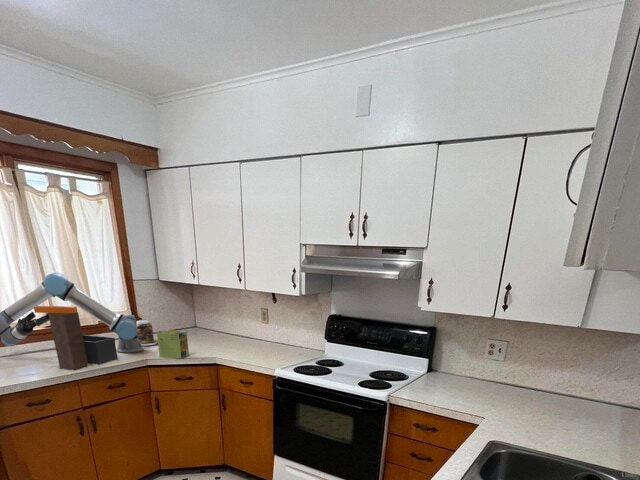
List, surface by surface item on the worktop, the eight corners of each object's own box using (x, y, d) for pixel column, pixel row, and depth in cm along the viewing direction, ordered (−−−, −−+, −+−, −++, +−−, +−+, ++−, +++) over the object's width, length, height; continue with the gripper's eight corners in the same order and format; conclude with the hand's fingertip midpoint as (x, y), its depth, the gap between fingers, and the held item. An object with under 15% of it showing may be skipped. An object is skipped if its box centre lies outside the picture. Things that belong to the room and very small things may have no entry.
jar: (140, 340, 317) (137, 319, 311) (156, 340, 317) (153, 320, 311) (134, 343, 306) (131, 322, 300) (150, 343, 306) (147, 322, 300)
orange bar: (34, 312, 227) (33, 306, 226) (39, 311, 231) (38, 305, 230) (73, 313, 229) (72, 307, 228) (77, 312, 233) (76, 306, 232)
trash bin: (65, 361, 254) (61, 339, 248) (85, 355, 267) (81, 334, 262) (99, 364, 248) (95, 342, 243) (117, 358, 262) (114, 337, 257)
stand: (60, 368, 238) (47, 313, 226) (74, 364, 247) (63, 311, 235) (74, 370, 236) (63, 314, 224) (88, 365, 245) (78, 312, 233)
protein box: (181, 358, 267) (178, 333, 261) (159, 356, 270) (156, 332, 264) (189, 355, 277) (187, 331, 271) (167, 353, 280) (165, 329, 274)
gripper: (45, 332, 253) (66, 316, 245) (6, 339, 231) (28, 321, 222) (37, 320, 251) (59, 303, 243) (-3, 327, 229) (19, 308, 221)
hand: (44, 312), depth 233 cm, fingers open, 13 cm apart
